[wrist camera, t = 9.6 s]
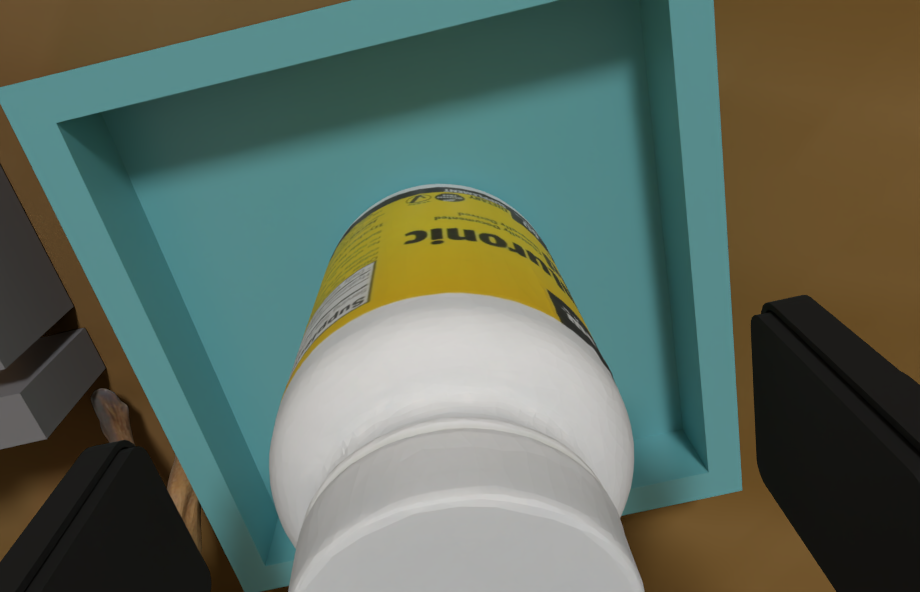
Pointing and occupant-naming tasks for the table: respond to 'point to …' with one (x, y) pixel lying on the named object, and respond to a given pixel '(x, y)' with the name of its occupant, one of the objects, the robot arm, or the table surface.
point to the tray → (382, 174)
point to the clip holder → (35, 335)
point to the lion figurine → (119, 428)
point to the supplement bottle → (451, 414)
